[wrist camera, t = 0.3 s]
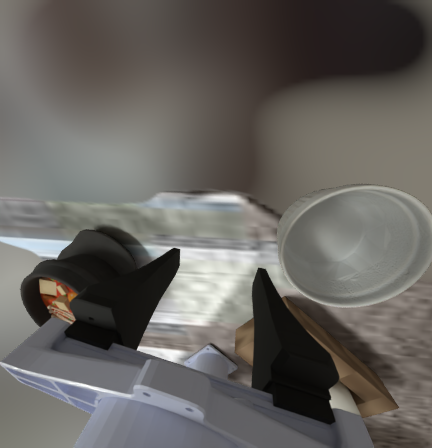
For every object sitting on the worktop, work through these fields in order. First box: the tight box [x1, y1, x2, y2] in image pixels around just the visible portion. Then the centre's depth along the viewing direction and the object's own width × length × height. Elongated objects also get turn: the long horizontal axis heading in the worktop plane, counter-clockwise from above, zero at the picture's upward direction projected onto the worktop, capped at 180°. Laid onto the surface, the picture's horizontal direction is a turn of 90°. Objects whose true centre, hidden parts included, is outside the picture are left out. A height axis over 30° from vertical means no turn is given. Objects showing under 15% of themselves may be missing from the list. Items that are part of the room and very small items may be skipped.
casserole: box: [20, 229, 136, 327], centre depth 28 cm, size 25×19×8 cm
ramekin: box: [277, 184, 432, 308], centre depth 18 cm, size 13×13×7 cm
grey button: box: [329, 380, 361, 416], centre depth 24 cm, size 5×5×4 cm
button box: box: [235, 296, 399, 418], centre depth 26 cm, size 12×22×4 cm, turn 50°
